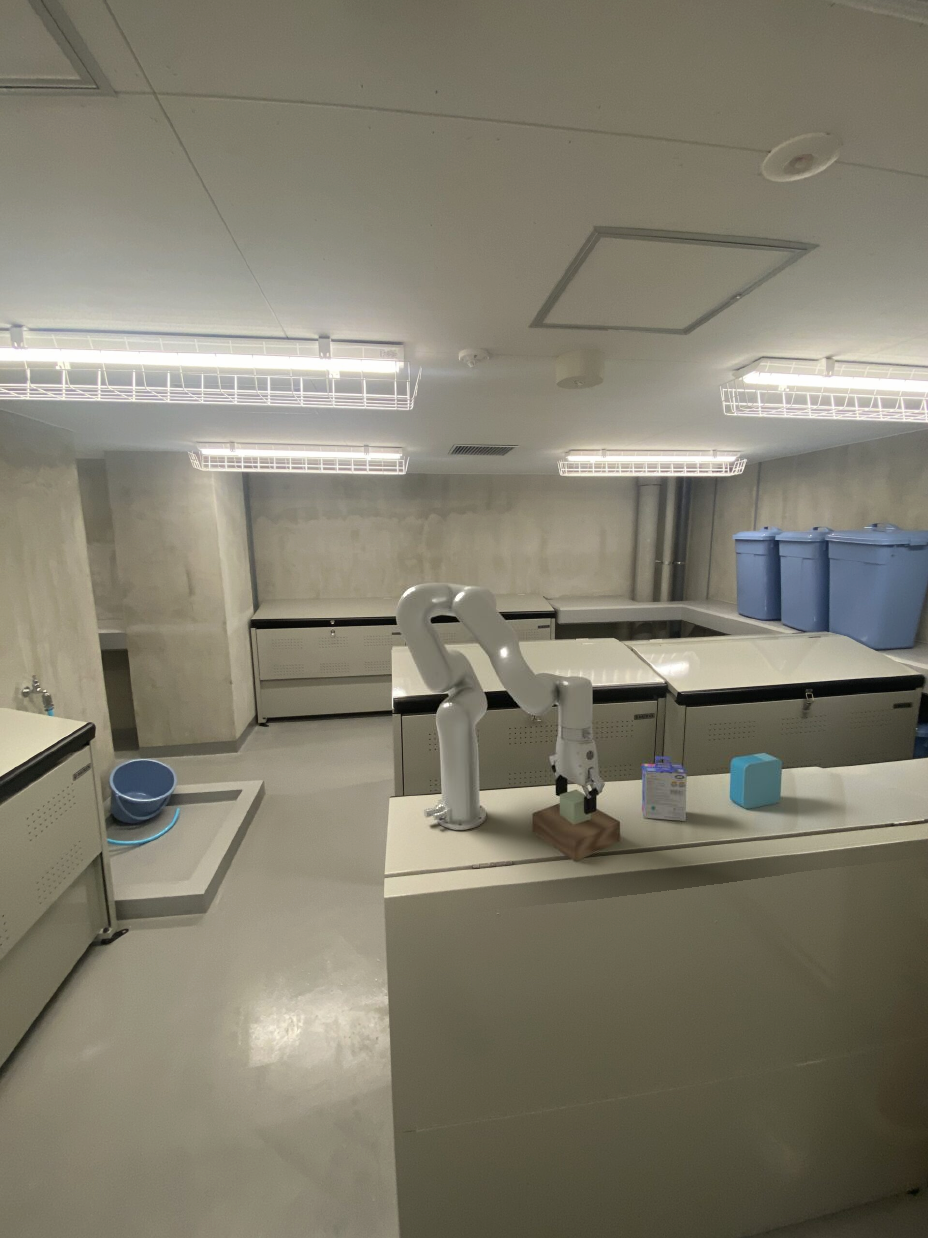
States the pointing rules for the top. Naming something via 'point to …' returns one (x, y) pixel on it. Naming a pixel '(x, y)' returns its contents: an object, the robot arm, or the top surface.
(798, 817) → the top surface
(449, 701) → the robot arm
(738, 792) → the blue rounded block
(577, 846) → the walnut block
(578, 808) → the sage cube
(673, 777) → the ink cartridge box
